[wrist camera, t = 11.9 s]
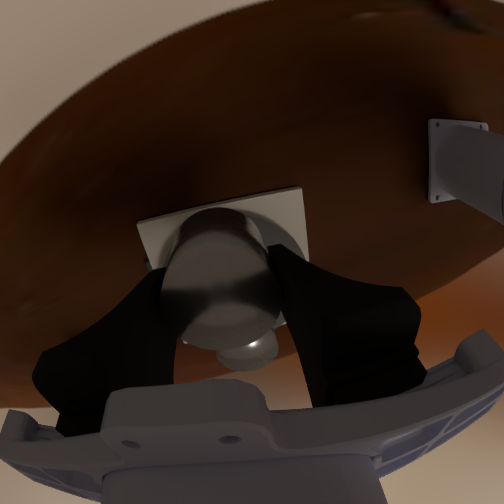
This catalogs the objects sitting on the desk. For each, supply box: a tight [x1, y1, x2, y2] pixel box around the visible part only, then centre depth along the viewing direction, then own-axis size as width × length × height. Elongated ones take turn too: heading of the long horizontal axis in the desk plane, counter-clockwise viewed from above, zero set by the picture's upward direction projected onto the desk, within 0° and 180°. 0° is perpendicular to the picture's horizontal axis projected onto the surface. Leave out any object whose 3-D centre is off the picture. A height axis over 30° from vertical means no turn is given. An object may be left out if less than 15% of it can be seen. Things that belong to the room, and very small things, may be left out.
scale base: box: [137, 186, 309, 344], centre depth 24 cm, size 13×13×1 cm
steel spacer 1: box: [159, 207, 282, 350], centre depth 12 cm, size 4×4×4 cm
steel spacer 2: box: [216, 327, 278, 371], centre depth 21 cm, size 4×4×4 cm
